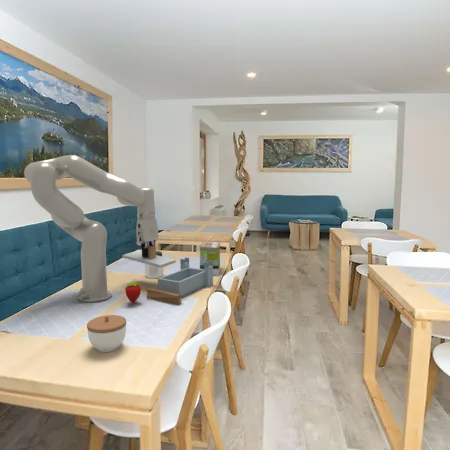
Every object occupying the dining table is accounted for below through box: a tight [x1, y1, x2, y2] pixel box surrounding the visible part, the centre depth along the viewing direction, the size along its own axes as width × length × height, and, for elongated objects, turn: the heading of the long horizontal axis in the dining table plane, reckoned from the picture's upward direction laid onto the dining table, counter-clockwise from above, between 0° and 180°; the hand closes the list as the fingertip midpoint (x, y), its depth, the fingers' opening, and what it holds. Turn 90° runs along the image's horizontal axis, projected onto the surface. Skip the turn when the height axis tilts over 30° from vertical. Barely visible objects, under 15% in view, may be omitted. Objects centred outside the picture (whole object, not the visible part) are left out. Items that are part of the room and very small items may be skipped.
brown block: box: [146, 287, 182, 306], centre depth 143 cm, size 2×16×4 cm, turn 59°
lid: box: [122, 244, 177, 268], centre depth 161 cm, size 22×10×6 cm, turn 61°
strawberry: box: [125, 278, 142, 305], centre depth 139 cm, size 6×8×10 cm
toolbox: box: [157, 257, 214, 299], centre depth 157 cm, size 23×15×11 cm, turn 151°
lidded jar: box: [86, 314, 127, 353], centre depth 103 cm, size 11×11×9 cm
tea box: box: [199, 241, 221, 276], centre depth 187 cm, size 15×10×15 cm
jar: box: [144, 250, 164, 279], centre depth 179 cm, size 9×8×12 cm
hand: (147, 255), depth 162 cm, fingers closed on lid, 3 cm apart
